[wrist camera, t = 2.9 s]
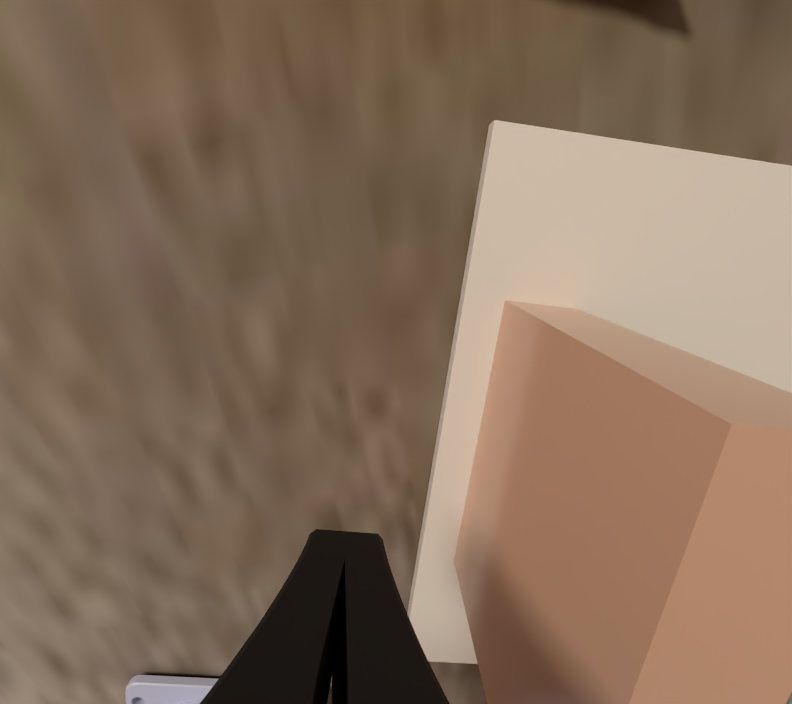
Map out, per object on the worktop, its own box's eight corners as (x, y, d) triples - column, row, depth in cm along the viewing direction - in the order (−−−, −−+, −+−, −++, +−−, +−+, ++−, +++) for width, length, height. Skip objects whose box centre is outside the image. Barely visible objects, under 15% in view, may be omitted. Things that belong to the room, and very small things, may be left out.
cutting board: (754, 666, 19) (765, 679, 19) (401, 646, 18) (402, 659, 17) (968, 198, 14) (994, 197, 13) (489, 125, 13) (494, 119, 12)
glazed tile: (521, 565, 16) (682, 939, 8) (453, 561, 16) (541, 938, 8) (585, 309, 14) (939, 446, 5) (504, 300, 14) (731, 423, 5)
